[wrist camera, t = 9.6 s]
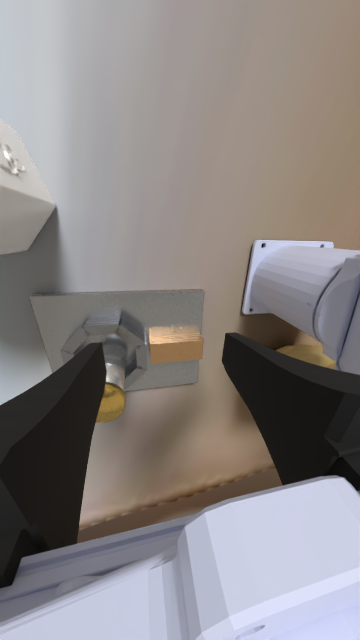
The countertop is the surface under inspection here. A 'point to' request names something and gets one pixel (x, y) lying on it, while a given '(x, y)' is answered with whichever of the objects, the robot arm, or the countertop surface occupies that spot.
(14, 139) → the jar
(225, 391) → the countertop surface
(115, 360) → the gold-capped vial
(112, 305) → the rosette plate
